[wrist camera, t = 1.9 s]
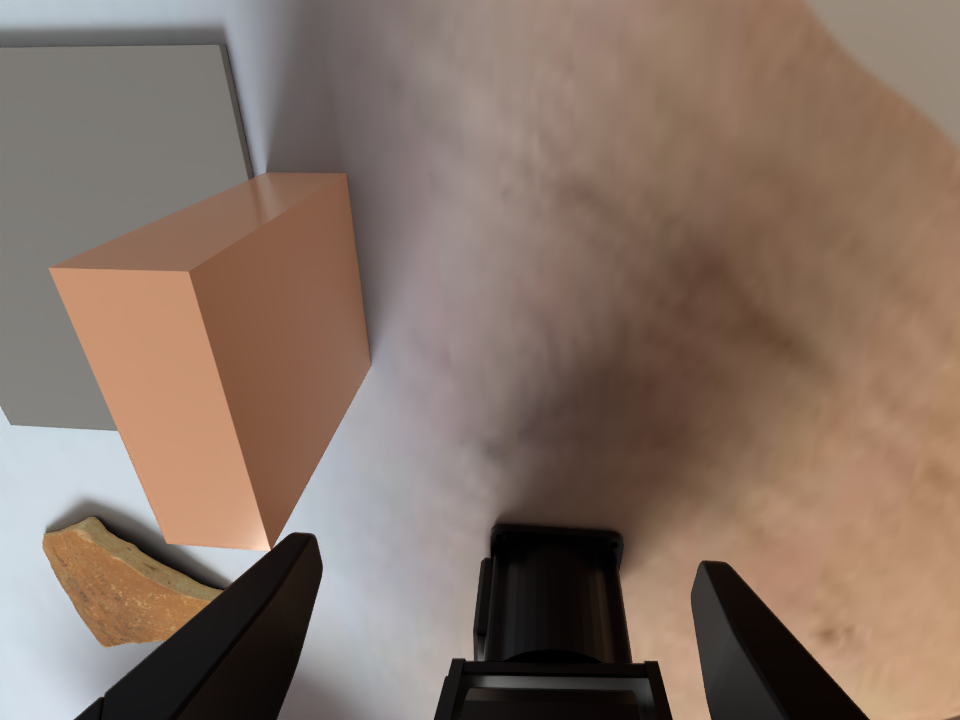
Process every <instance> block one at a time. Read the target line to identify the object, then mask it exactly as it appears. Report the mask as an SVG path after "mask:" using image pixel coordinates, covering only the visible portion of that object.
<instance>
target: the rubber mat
mask: <svg viewBox="0 0 960 720" xmlns="http://www.w3.org/2000/svg"><path fill="white" fill-rule="evenodd" d="M252 178H253V173H252V168H251V164H250V159H249V154H248V150H247V145H246V140H245V135H244V131H243V126H242V121H241V116H240V112H239V107H238V102H237V97H236V93H235V88H234V83H233V79H232V74H231V69H230V64H229V60H228V55H227V50H226V45H159V46H82V47H4V48H0V406H1V408H2V410H3V412H4V413H5V415H6V417H7V419H8V421H9V423H10V424H11V425H21V426H39V427H57V428H75V429H92V430H110V431H118V429H117V427H116V424H115V422H114V420H113V417H112V415H111V413H110V410H109V408H108V406H107V403H106V401H105V399H104V396H103V394H102V392H101V390H100V387H99V385H98V383H97V380H96V378H95V376H94V373H93V371H92V369H91V366H90V364H89V362H88V359H87V357H86V355H85V352H84V350H83V348H82V345H81V343H80V341H79V338H78V336H77V334H76V331H75V329H74V327H73V324H72V322H71V320H70V317H69V315H68V313H67V310H66V308H65V306H64V303H63V301H62V299H61V296H60V294H59V292H58V289H57V287H56V285H55V282H54V280H53V278H52V275H51V273H50V271H49V267H51V266H54V265H56V264H58V263H60V262H63V261H65V260H67V259H69V258H72V257H74V256H76V255H79V254H81V253H83V252H85V251H88V250H90V249H92V248H95V247H97V246H99V245H101V244H104V243H106V242H108V241H111V240H113V239H115V238H117V237H120V236H122V235H124V234H127V233H129V232H131V231H133V230H136V229H138V228H140V227H143V226H145V225H147V224H149V223H152V222H154V221H156V220H159V219H161V218H163V217H165V216H168V215H170V214H172V213H175V212H177V211H179V210H181V209H184V208H186V207H188V206H191V205H193V204H195V203H197V202H200V201H202V200H204V199H207V198H209V197H211V196H213V195H216V194H218V193H220V192H223V191H225V190H227V189H229V188H232V187H234V186H236V185H239V184H241V183H243V182H245V181H248V180H250V179H252Z"/></svg>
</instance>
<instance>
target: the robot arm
mask: <svg viewBox="0 0 960 720" xmlns="http://www.w3.org/2000/svg"><path fill="white" fill-rule="evenodd" d="M500 534H504V535H500ZM623 547H624V544H623V538H622V536H621V534H619V533H617V532H611V531H596V530H581V529H566V528H552V527H537V526H522V525H507V524H497V525H495V526H494V527H493V528H492V531H491V558H485V559H483V560H482V561H481V568H480V576H479V585H478V594H477V602H476V611H475V619H474V628H473V639H474V661H466V660H465V659H464V658H453V659H452V663H451V666H450V670H449V674H448V676H446V677H445V680H444V684H443V687H442V691H441V695H440V699H439V702H438V706H437V710H436V713H435V717H434V720H673V719H672V715H671V711H670V707H669V703H668V699H667V695H666V692H665V688H664V684H663V680H662V676H661V672H660V668H659V665H658V661H644V663H633V662H632V655H631V649H630V642H629V636H628V629H627V622H626V616H625V609H624V602H623V596H622V589H621V583H620V576H619V570H620V564H621V559H622V553H623ZM322 572H323V565H322V560H321V555H320V551H319V547H318V542H317V539H316V536H315V535H314V534H311V533H299V532H294V533H291V534H289V535H288V536H287V537H285V538H284V539H283V540H282V541H281V542H280V543H278V544H277V545H276V546H275V547H274V548H273V549H271V550H270V551H269V552H268V553H267V554H266V555H264V556H263V557H262V558H261V559H260V560H259V561H258V562H256V563H255V564H254V565H253V566H252V567H251V568H249V569H248V570H247V571H246V572H245V573H244V574H242V575H241V576H240V577H239V578H238V579H237V580H235V581H234V582H233V583H232V584H231V585H230V586H229V587H227V588H226V589H225V590H224V591H223V592H222V593H220V594H219V595H218V596H217V597H216V598H215V599H213V600H212V601H211V602H210V603H209V604H208V605H206V606H205V607H204V608H203V609H202V610H201V611H199V612H198V613H197V614H196V615H195V616H194V617H193V618H191V619H190V620H189V621H188V622H187V623H186V624H184V625H183V626H182V627H181V628H180V629H179V630H177V631H176V632H175V633H174V634H173V635H172V636H170V637H169V638H168V639H167V640H166V641H165V642H163V643H162V644H161V645H160V646H159V647H158V648H157V649H155V650H154V651H153V652H152V653H151V654H150V655H148V656H147V657H146V658H145V659H144V660H143V661H141V662H140V663H139V664H138V665H137V666H136V667H134V668H133V669H132V670H131V671H130V672H129V673H128V674H126V675H125V676H124V677H123V678H122V679H121V680H119V681H118V682H117V683H116V684H115V685H114V686H112V687H111V688H110V689H109V690H108V691H107V692H106V693H105V695H104V697H100V698H98V699H97V700H96V701H95V702H94V703H92V704H91V705H90V706H89V707H88V708H87V709H85V710H84V711H83V712H82V713H81V714H80V715H78V716H77V717H76V718H75V719H74V720H277V717H278V715H279V712H280V710H281V707H282V704H283V702H284V699H285V697H286V694H287V691H288V689H289V686H290V684H291V681H292V678H293V676H294V673H295V670H296V667H297V664H298V661H299V658H300V655H301V651H302V648H303V644H304V640H305V637H306V633H307V629H308V626H309V622H310V618H311V615H312V611H313V607H314V604H315V600H316V596H317V593H318V589H319V585H320V582H321V578H322ZM691 606H692V613H693V619H694V625H695V632H696V638H697V644H698V650H699V657H700V663H701V669H702V676H703V682H704V688H705V693H706V699H707V704H708V708H709V712H710V716H711V720H870V719H869V718H868V717H867V716H866V715H865V714H864V713H863V712H862V710H861V709H860V708H859V707H858V706H857V705H856V704H855V703H854V702H853V701H852V699H851V698H850V697H849V696H848V695H847V694H846V693H845V692H844V691H843V689H842V688H841V687H840V686H839V685H838V684H837V683H836V682H835V681H834V680H833V678H832V677H831V676H830V675H829V674H828V673H827V672H826V671H825V670H824V669H823V667H822V666H821V665H820V664H819V663H818V662H817V661H816V660H815V659H814V657H813V656H812V655H811V654H810V653H809V652H808V651H807V650H806V649H805V648H804V646H803V645H802V644H801V643H800V642H799V641H798V640H797V639H796V638H795V636H794V635H793V634H792V633H791V632H790V631H789V630H788V629H787V628H786V627H785V625H784V624H783V623H782V622H781V621H780V620H779V619H778V618H777V617H776V616H775V614H774V613H773V612H772V611H771V610H770V609H769V608H768V607H767V606H766V604H765V603H764V602H763V601H762V600H761V599H760V598H759V597H758V596H757V595H756V593H755V592H754V591H753V590H752V589H751V588H750V587H749V586H748V585H747V583H746V582H745V581H744V580H743V579H742V578H741V577H740V576H739V575H738V574H737V572H736V571H735V570H734V569H733V568H732V567H731V566H730V565H729V564H727V563H725V562H721V561H707V560H705V561H702V562H701V563H700V564H699V567H698V570H697V574H696V577H695V581H694V584H693V588H692V592H691Z"/></svg>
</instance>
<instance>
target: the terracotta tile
mask: <svg viewBox="0 0 960 720" xmlns="http://www.w3.org/2000/svg"><path fill="white" fill-rule="evenodd" d="M49 271H50V273H51V275H52V278H53V280H54V282H55V285H56V287H57V289H58V292H59V294H60V296H61V299H62V301H63V303H64V306H65V308H66V310H67V313H68V315H69V317H70V320H71V322H72V324H73V327H74V329H75V331H76V334H77V336H78V338H79V341H80V343H81V345H82V348H83V350H84V352H85V355H86V357H87V359H88V362H89V364H90V366H91V369H92V371H93V373H94V376H95V378H96V380H97V383H98V385H99V387H100V390H101V392H102V394H103V396H104V399H105V401H106V403H107V406H108V408H109V410H110V413H111V415H112V417H113V420H114V422H115V424H116V427H117V429H118V431H119V434H120V436H121V438H122V441H123V443H124V445H125V448H126V450H127V452H128V455H129V457H130V459H131V462H132V464H133V466H134V469H135V471H136V473H137V476H138V478H139V480H140V483H141V485H142V487H143V490H144V492H145V494H146V497H147V499H148V501H149V504H150V506H151V508H152V511H153V513H154V515H155V518H156V520H157V522H158V525H159V527H160V529H161V532H162V534H163V536H164V539H165V541H166V543H167V544H179V545H192V546H205V547H219V548H232V549H245V550H259V551H270V550H271V549H272V548H273V546H274V545H275V543H276V541H277V539H278V537H279V535H280V534H281V532H282V530H283V528H284V526H285V524H286V522H287V521H288V519H289V517H290V515H291V513H292V511H293V509H294V508H295V506H296V504H297V502H298V500H299V498H300V497H301V495H302V493H303V491H304V489H305V487H306V485H307V484H308V482H309V480H310V478H311V476H312V474H313V472H314V471H315V469H316V467H317V465H318V463H319V461H320V460H321V458H322V456H323V454H324V452H325V450H326V448H327V447H328V445H329V443H330V441H331V439H332V437H333V435H334V434H335V432H336V430H337V428H338V426H339V424H340V422H341V421H342V419H343V417H344V415H345V413H346V411H347V410H348V408H349V406H350V404H351V402H352V400H353V398H354V397H355V395H356V393H357V391H358V389H359V387H360V385H361V384H362V382H363V380H364V378H365V376H366V374H367V373H368V371H369V369H370V367H371V361H370V353H369V345H368V337H367V329H366V322H365V314H364V306H363V298H362V290H361V282H360V275H359V267H358V259H357V251H356V243H355V236H354V228H353V220H352V212H351V204H350V196H349V189H348V181H347V173H276V172H266V173H264V174H261V175H259V176H257V177H255V178H252V179H250V180H248V181H245V182H243V183H241V184H239V185H236V186H234V187H232V188H229V189H227V190H225V191H223V192H220V193H218V194H216V195H213V196H211V197H209V198H207V199H204V200H202V201H200V202H197V203H195V204H193V205H191V206H188V207H186V208H184V209H181V210H179V211H177V212H175V213H172V214H170V215H168V216H165V217H163V218H161V219H159V220H156V221H154V222H152V223H149V224H147V225H145V226H143V227H140V228H138V229H136V230H133V231H131V232H129V233H127V234H124V235H122V236H120V237H117V238H115V239H113V240H111V241H108V242H106V243H104V244H101V245H99V246H97V247H95V248H92V249H90V250H88V251H85V252H83V253H81V254H79V255H76V256H74V257H72V258H69V259H67V260H65V261H63V262H60V263H58V264H56V265H54V266H51V267H49Z"/></svg>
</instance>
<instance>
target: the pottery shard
mask: <svg viewBox="0 0 960 720" xmlns="http://www.w3.org/2000/svg"><path fill="white" fill-rule="evenodd" d="M43 550H44V552H45V554H46V556H47V558H48V560H49V562H50V564H51V567H52V569H53V570H54V573H55V575H56V577H57V579H58V580H59V582H60V584H61V586H62V588H63V589H64V590H65V592H66V593H67V595H68V596H69V598H70V599H71V601H72V602H73V604H74V606H75V609H76V611H77V612H78V614H79V615H80V617H81V618H82V620H83V621H84V622H85V624H86V625H87V627H88V628H89V629H90V631H91V632H92V633H93V634H94V636H95V637H96V639H97V640H98V641H99V642H100V644H101V645H102V646H104V647H105V648H108V647H112V646H116V645H121V644H125V643H134V642H135V643H146V642H155V641H166V640H167V639H168V638H169V637H170V636H172V635H173V634H174V633H175V632H176V631H177V630H179V629H180V628H181V627H182V626H183V625H184V624H186V623H187V622H188V621H189V620H190V619H191V618H193V617H194V616H195V615H196V614H197V613H198V612H199V611H201V610H202V609H203V608H204V607H205V606H206V605H208V604H209V603H210V602H211V601H212V600H213V599H215V598H216V597H217V596H218V595H219V594H220V593H222V592H223V591H224V590H217V589H214V588H210V587H208V586H205V585H202V584H200V583H198V582H196V581H194V580H193V579H191V578H190V577H188V576H187V575H184V574H182V573H180V572H178V571H176V570H174V569H172V568H170V567H167V566H165V565H163V564H162V563H160V562H158V561H156V560H154V559H152V558H151V557H149V556H148V555H146V554H144V553H143V552H141V551H140V550H139V549H138V548H137V547H136V546H135V545H133V544H132V543H129V542H126V541H124V540H122V539H120V538H118V537H116V536H115V535H113V534H112V533H110V532H109V531H107V530H106V528H105V527H104V526H103V524H102V523H101V521H100V520H98V519H97V518H95V517H88V518H87V519H85V520H83V521H81V522H79V523H78V524H73V525H71V526H69V527H67V528H65V529H63V530H59V531H54V532H47V533H46V534H44V539H43Z"/></svg>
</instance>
